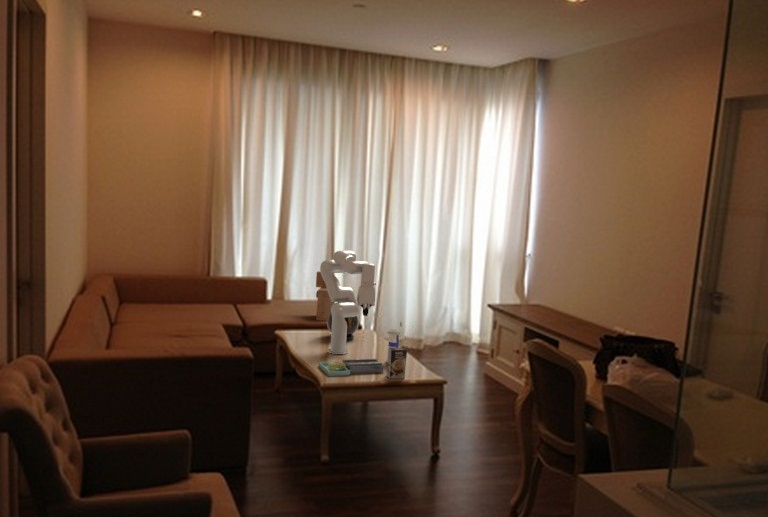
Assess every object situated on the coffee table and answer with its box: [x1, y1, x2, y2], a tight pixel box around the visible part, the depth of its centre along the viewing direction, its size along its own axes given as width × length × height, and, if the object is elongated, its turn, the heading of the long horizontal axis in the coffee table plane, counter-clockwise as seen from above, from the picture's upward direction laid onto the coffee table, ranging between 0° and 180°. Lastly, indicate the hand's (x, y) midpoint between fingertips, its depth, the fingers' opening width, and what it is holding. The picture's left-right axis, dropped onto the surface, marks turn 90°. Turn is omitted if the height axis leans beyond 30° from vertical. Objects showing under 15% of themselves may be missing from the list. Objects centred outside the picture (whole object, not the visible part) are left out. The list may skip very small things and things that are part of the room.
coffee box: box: [386, 347, 408, 379], centre depth 377 cm, size 9×6×16 cm
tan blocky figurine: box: [315, 270, 335, 322], centre depth 526 cm, size 19×14×35 cm
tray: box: [318, 361, 351, 377], centre depth 381 cm, size 20×12×2 cm, turn 21°
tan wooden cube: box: [327, 361, 337, 371], centre depth 380 cm, size 4×4×4 cm
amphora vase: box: [326, 312, 360, 341], centre depth 463 cm, size 22×22×28 cm
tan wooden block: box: [336, 359, 346, 371], centre depth 382 cm, size 4×4×4 cm
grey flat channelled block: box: [341, 358, 384, 375], centre depth 387 cm, size 14×20×5 cm
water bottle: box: [385, 322, 403, 363], centre depth 408 cm, size 8×9×25 cm
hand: (365, 315), depth 397 cm, fingers closed
